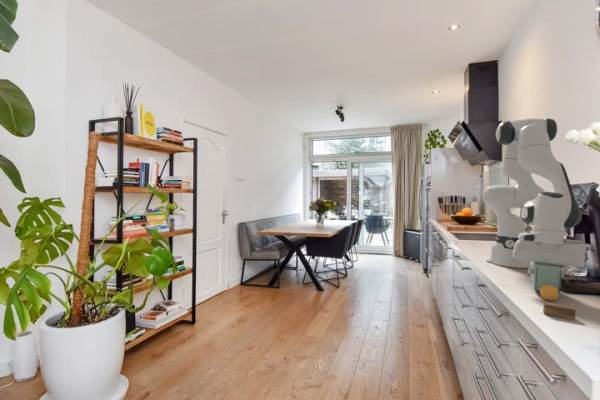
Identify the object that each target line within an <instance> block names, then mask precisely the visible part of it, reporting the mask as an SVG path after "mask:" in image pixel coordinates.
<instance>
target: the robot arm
mask: <svg viewBox="0 0 600 400" xmlns="http://www.w3.org/2000/svg"><path fill="white" fill-rule="evenodd" d="M557 133H558V124H557V122H556V120H554V119H552V118H549V117H548V118H547V117H543V118H525V119H524V118H523V119H517V120H506V121H503V122H500V124H499V125H497V128H496V130H495V139H496V142H497V143H499V144H500V145H504V146H505V147H504V152H503V161H502V169H501V171H502V175H504V176H505V177H506V178H509V179H511V180H512V181H514V182H515V183H516V184H515V185H512V184H511V185H508V184H496V185H490V186H487V187H486V188H485V189H484V191H483V192H482V199H483V202H484V203H485V205H487V206H488V207H489V208H490V209H491V210H492V211H493V212H494V213H495V214H494V215H495V216H496V220H497V234H496V235H495V243H494V244H493V245H491V253H490V257H489V258H486V262H488V263H493V264H494V265H497V266H502V267H508V268H514V269H515V268H517V269H521V268H522V269H524V268H526V269H527V268H528V271H527V272H528V274H530V275H531V274H534V269H533V268H531V266H532V262H539V263H547V264H555V265H562V274H561V279H564V276H565V274H566V272H568V270H569V267H570V268H571V267H572V268H579V269H580V268H583V267H584V266H585V252H586V250H587V245H586V243H584V242H583V241H582V240H578V239H568V238H565V234H566V230H567V229H568V230H569V229H572V228H573V227H575V226H577V225H578V224H580V222H581V221H582V217H583V214H582V210H581V208H580V206H579V204H578V202H577V200H576V198H575V194H574V192H573V191H574V190H573V188H572V186H571V183H570V179H569V176H568V173H567V170H566V168H565V166H564V164H563V163H561V162H560V161H558V160H557V159H556V157H555V155H554V154H553V151H552V147H551V142H552V141H553V140H554V139H555V138H556V136H557ZM532 174H534V175H537V176H539V177H542V178H544V179H547V180H548V181H549V183H551V184H552V187H553V192H552V191H545V189H544V188H542V187H541V186H540V185H538V184H537V183H536V181H535V180H534V178H533V175H532ZM511 209H520V210H519V214H520V215H516V214H515V213H513V212H512V210H511ZM526 225H530V226H533V230H532V231H526ZM525 231H526V232H525Z"/></svg>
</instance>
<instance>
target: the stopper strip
mask: <svg viewBox="0 0 600 400" xmlns="http://www.w3.org/2000/svg"><path fill="white" fill-rule="evenodd" d="M542 309H543V310H542V312H543V315H545V316H551V317H557V318H560V319H566V320H573V321H576V313H577V312H576V311H577V309H576V308H575V307H572V306H567V305H561V304H557V303H550V302H549V303H548V302H543V308H542Z"/></svg>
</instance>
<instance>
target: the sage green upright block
mask: <svg viewBox="0 0 600 400" xmlns="http://www.w3.org/2000/svg"><path fill="white" fill-rule="evenodd" d="M531 265H532V266H531V268H533V269H534V274H530V280H529V281H530V284H531V285H532V287H533V289H534V291H540V289H541V287H542V286H545V285H551V286H553V287H555V288H556V289H557V290H558V293H559V295H560V294H561V287H562V286H561V285H562V278H561V274H562V270H563V268H561V267H560V266H559V265H555V264H547V263H539V262H531Z"/></svg>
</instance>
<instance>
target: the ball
mask: <svg viewBox="0 0 600 400" xmlns="http://www.w3.org/2000/svg"><path fill="white" fill-rule="evenodd" d="M539 294H540V296H541V297H542V298H543V299H544V300H547V301H555V300H557V299H558V298H559V295H560V294H559V293H558V290H557V289H556V288H555V287H553V286H551V285H545V286H542V287H541V289H540V290H539Z"/></svg>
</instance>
